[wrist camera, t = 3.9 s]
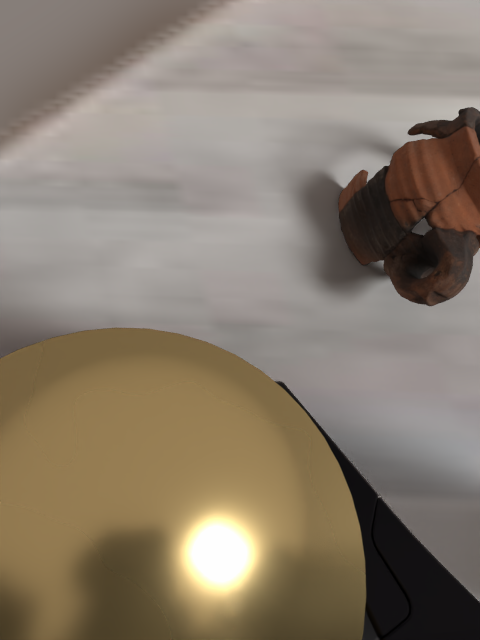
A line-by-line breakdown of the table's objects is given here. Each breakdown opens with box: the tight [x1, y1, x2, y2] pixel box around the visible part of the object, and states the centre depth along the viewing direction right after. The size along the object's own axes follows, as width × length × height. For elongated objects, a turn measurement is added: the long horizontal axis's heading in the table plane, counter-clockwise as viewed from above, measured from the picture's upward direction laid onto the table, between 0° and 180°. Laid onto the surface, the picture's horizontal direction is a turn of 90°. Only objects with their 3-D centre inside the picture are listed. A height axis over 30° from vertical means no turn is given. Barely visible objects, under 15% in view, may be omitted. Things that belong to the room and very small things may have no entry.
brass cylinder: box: [0, 328, 366, 640], centre depth 9 cm, size 5×5×12 cm
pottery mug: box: [339, 107, 480, 306], centre depth 22 cm, size 12×10×8 cm
